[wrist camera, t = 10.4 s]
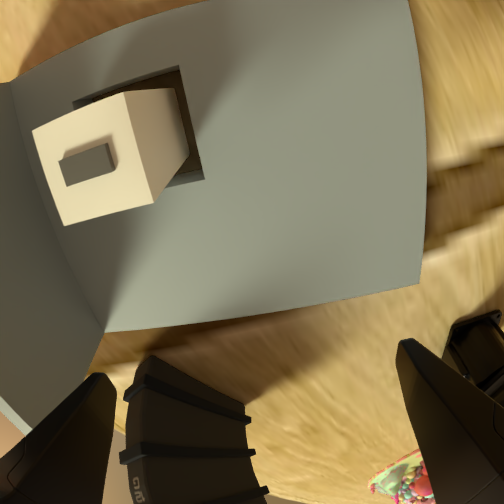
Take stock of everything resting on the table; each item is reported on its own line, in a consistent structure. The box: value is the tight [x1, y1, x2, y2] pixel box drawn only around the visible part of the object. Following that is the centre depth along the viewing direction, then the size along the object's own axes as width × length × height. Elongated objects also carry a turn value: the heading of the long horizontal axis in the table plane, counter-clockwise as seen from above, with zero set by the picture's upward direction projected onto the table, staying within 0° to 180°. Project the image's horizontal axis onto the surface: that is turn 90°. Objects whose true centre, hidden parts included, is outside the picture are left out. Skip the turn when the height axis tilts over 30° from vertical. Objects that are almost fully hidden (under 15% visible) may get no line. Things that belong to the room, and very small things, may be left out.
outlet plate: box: [0, 0, 427, 435], centre depth 13 cm, size 24×18×12 cm
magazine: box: [119, 356, 270, 504], centre depth 23 cm, size 4×13×15 cm, turn 47°
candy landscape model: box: [368, 449, 436, 504], centre depth 41 cm, size 25×24×9 cm
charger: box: [32, 88, 190, 226], centre depth 13 cm, size 4×4×8 cm
